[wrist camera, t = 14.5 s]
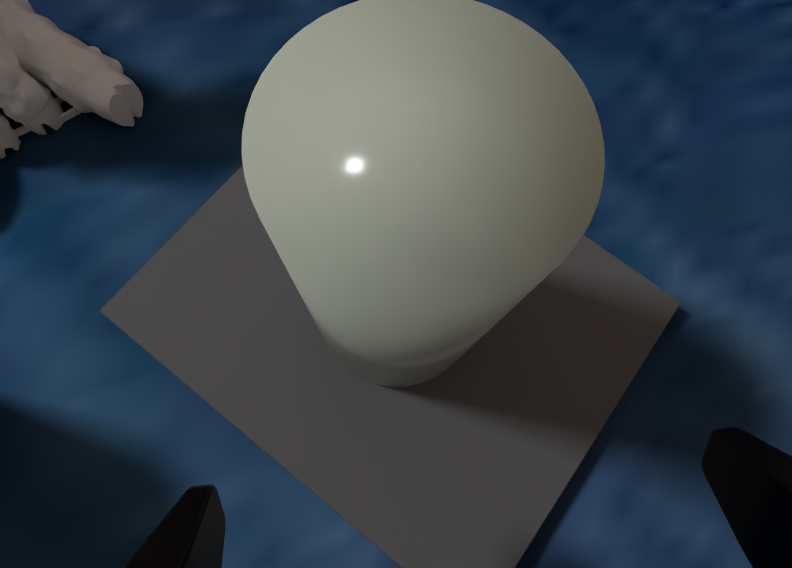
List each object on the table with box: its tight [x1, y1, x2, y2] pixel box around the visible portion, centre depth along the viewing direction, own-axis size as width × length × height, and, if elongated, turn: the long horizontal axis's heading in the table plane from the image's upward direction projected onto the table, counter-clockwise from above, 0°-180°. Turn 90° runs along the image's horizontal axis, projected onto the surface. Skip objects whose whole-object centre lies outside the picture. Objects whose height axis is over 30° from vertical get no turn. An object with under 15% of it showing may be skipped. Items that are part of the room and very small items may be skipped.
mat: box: [100, 165, 681, 568], centre depth 19 cm, size 16×13×1 cm
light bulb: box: [242, 0, 605, 387], centre depth 13 cm, size 6×6×11 cm
